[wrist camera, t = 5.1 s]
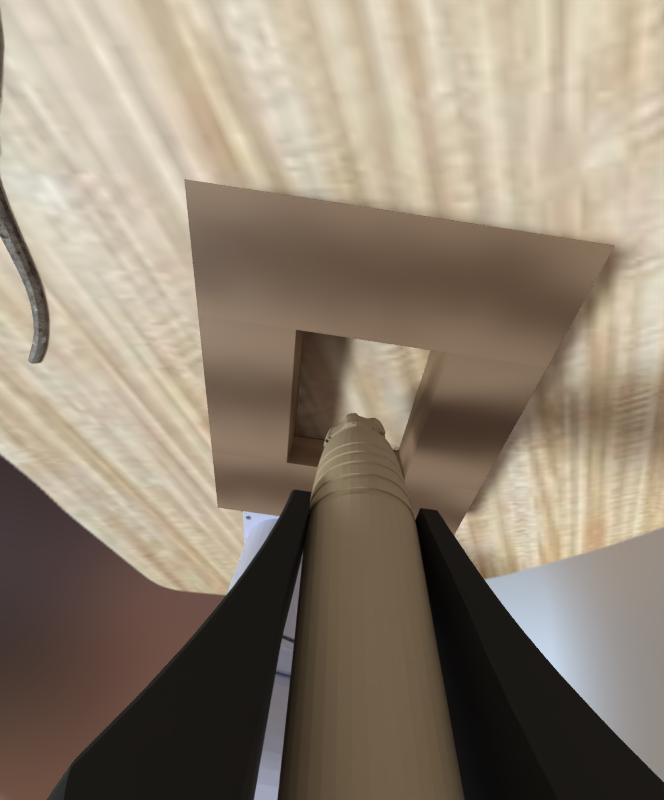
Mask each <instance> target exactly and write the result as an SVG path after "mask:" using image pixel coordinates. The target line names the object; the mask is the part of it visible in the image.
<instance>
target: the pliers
mask: <svg viewBox="0 0 664 800" xmlns="http://www.w3.org/2000/svg"><path fill="white" fill-rule="evenodd" d="M0 237H1V239H2V241H3V242H4V244H5V246H6V248H7V250H8V252H9V254H10V256H11V258H12V260H13V262H14V264H15V266H16V268H17V270H18V272H19V274H20V276H21V278H22V281H23V283H24V285H25V288H26V291H27V294H28V297H29V300H30V303H31V309H32V314H33V324H34V336H33V344H32V347H31V351H30V355H29V362H30V363H39V362H40V360H41V358H42V356H43V353H44V350H45V346H46V339H47V316H46V306H45V302H44V298H43V293H42V289H41V286H40V284H39V281H38V278H37V275H36V273H35V270H34V268H33V265H32V263H31V261H30V258H29V256H28V254H27V252H26V249H25V247H24V245H23V242H22V240H21V238H20V235H19V233H18V231H17V229H16V226H15V224H14V222H13V219H12V217H11V215H10V212H9V210H8V207H7V205H6V202H5V200H4V197H3V194H2V191H1V188H0Z"/></svg>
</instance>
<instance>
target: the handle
mask: <svg viewBox="0 0 664 800" xmlns="http://www.w3.org/2000/svg"><path fill="white" fill-rule="evenodd" d="M277 800H465V798H464V793H463V787H462V782H461V776H460V771H459V765H458V759H457V754H456V748H455V743H454V737H453V732H452V726H451V721H450V715H449V709H448V704H447V698H446V693H445V687H444V682H443V676H442V671H441V665H440V659H439V654H438V648H437V643H436V637H435V631H434V625H433V619H432V613H431V607H430V602H429V596H428V590H427V584H426V578H425V572H424V567H423V561H422V555H421V549H420V543H419V537H418V532H417V527H416V523H415V518H414V514H413V510H412V506H411V502H410V498H409V494H408V491H407V487H406V484H405V481H404V478H403V475H402V472H401V469H400V466H399V463H398V461H397V458H396V456H395V454H394V452H393V450H392V448H391V446H390V444H389V443H388V441H387V440H386V439H385V431H384V428H383V426H382V424H381V422H380V421H379V420H377V419H376V418H363V417H360V416H358V415H357V414H356V413H351V414H348V415H347V416H346V418H345V419H344V421H343V422H341V423H340V424H339V425H337V426H333V427H331V428H330V429H329V431H328V433H327V435H326V438H325V441H324V451H323V453H322V456H321V458H320V461H319V465H318V468H317V472H316V477H315V481H314V485H313V489H312V494H311V500H310V507H309V513H308V520H307V525H306V531H305V538H304V547H303V557H302V567H301V577H300V587H299V597H298V607H297V618H296V628H295V638H294V648H293V657H292V666H291V676H290V685H289V695H288V704H287V713H286V723H285V732H284V742H283V751H282V761H281V770H280V779H279V789H278V798H277Z"/></svg>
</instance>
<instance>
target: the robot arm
mask: <svg viewBox="0 0 664 800" xmlns="http://www.w3.org/2000/svg"><path fill="white" fill-rule="evenodd" d="M310 499H311V492H309V491H302V490H293V491H291V493H290V496H289V498H288V501H287V503H286V505H285V507H284V509H283V511H282V513H281V515H280V516H273V515H267V514H260V513H253V512H246V511H244V512H243V520H244V548H243V550H242V553H241V556H240V559H239V562H238V564H237V567H236V570H235V573H234V575H233V578H232V581H231V584H230V586H229V589H228V592H227V595H226V596H225V598H224V599H223V600H222V601H221V603H220V604H219V605H218V606H217V608H216V609H215V610H214V611H213V612H212V614H211V615H210V616H209V617H208V618H207V620H206V621H205V622H204V623H203V624H202V626H201V627H200V628H199V629H198V630H197V632H196V633H195V634H194V635H193V636H192V637H191V639H190V640H189V641H188V642H187V643H186V644H185V645H184V646H183V648H182V649H181V650H180V651H179V652H178V653H177V654H176V655H175V656H174V657H173V659H172V660H171V661H170V662H169V663H168V664H167V665H166V666H165V667H164V668H163V670H161V672H160V673H159V674H158V675H157V676H156V677H155V678H154V679H153V680H152V681H151V682H150V683H149V685H148V686H147V687H146V688H145V689H144V690H143V691H142V692H141V693H140V694H139V695H138V696H137V697H136V698H135V699H134V700H133V701H132V702H131V703H130V704H129V705H128V706H127V707H126V709H125V710H123V711H122V713H120V714H119V716H117V717H116V718H115V720H113V721H112V723H111V724H109V726H107V728H106V729H105V730H104V731H103V732H102V733H101V734H100V735H99V736H98V737H97V738H96V739H95V740H94V741H93V742H92V743H91V744H90V745H89V746H88V747H87V748H86V749H85V750H84V751H83V752H82V753H81V754H80V755H79V756H78V757H77V758H76V759H75V760H74V762H73V763H72V764H71V766H70V767H69V768H68V770H67V771H66V772H65V774H64V775H63V777H62V778H61V780H60V781H59V782H58V784H57V785H56V787H55V788H54V790H53V791H52V793H51V794H50V796H49V797H48V799H47V800H277V798H278V789H279V779H280V770H281V761H282V751H283V742H284V732H285V723H286V713H287V704H288V695H289V685H290V676H291V666H292V657H293V648H294V638H295V628H296V618H297V607H298V597H299V587H300V577H301V567H302V557H303V547H304V538H305V531H306V525H307V520H308V513H309V507H310ZM415 523H416V527H417V532H418V537H419V543H420V549H421V555H422V561H423V567H424V572H425V578H426V584H427V590H428V596H429V602H430V607H431V613H432V619H433V625H434V631H435V637H436V643H437V648H438V654H439V659H440V665H441V671H442V676H443V682H444V687H445V693H446V698H447V704H448V709H449V715H450V721H451V726H452V732H453V737H454V743H455V748H456V754H457V759H458V765H459V771H460V776H461V782H462V787H463V793H464V798H465V800H664V782H663V781H662V780H661V779H660V778H659V777H658V776H657V775H656V774H655V773H654V772H653V771H652V770H651V769H649V768H648V766H647V765H646V764H645V763H644V762H643V761H642V760H641V759H640V758H639V757H638V756H637V755H636V754H635V753H634V752H633V751H632V750H631V749H630V748H629V747H628V746H627V745H626V744H625V743H624V742H623V741H622V740H621V739H620V738H619V737H618V736H617V735H616V734H615V733H614V732H613V731H612V730H611V729H610V728H609V727H608V725H607V724H606V723H605V722H604V721H603V720H602V719H601V718H600V717H599V716H598V715H597V714H596V713H595V712H594V711H593V710H592V708H591V707H590V706H589V705H588V704H587V703H586V702H585V701H584V700H583V699H582V698H581V697H580V696H579V694H578V693H577V692H576V691H575V690H574V689H573V688H572V687H571V686H570V685H569V684H568V683H567V681H566V680H565V679H564V678H563V677H562V676H561V675H560V674H559V672H558V671H557V670H556V669H555V668H554V667H553V666H552V665H551V663H550V662H549V661H548V660H547V659H546V658H545V657H544V655H543V654H542V653H541V652H540V651H539V649H538V648H537V647H536V646H535V645H534V643H533V642H532V641H531V640H530V639H529V637H528V636H527V635H526V634H525V633H524V631H523V630H522V629H521V628H520V626H519V625H518V624H517V623H516V621H515V620H514V619H513V618H512V616H511V615H510V614H509V612H508V611H507V610H506V609H505V607H504V606H503V605H502V603H501V602H500V601H499V599H498V598H497V597H496V595H495V594H494V593H493V591H492V590H491V589H490V587H489V586H488V584H487V583H486V582H485V580H484V579H483V577H482V576H481V575H480V573H479V572H478V570H477V569H476V567H475V566H474V565H473V563H472V562H471V560H470V559H469V557H468V556H467V554H466V553H465V551H464V550H463V548H462V547H461V545H460V544H459V542H458V541H457V539H456V538H455V536H454V535H453V533H452V532H451V530H450V529H449V527H448V526H447V524H446V522H445V521H444V519H443V518H442V516H441V515H440V513H439V512H438V510H432V509H425V508H420V510H419V512H418V515H417V517H416V519H415Z"/></svg>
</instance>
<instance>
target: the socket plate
mask: <svg viewBox="0 0 664 800" xmlns="http://www.w3.org/2000/svg"><path fill="white" fill-rule="evenodd" d="M185 189H186V199H187V209H188V218H189V228H190V238H191V248H192V258H193V267H194V277H195V287H196V297H197V307H198V316H199V326H200V336H201V346H202V356H203V365H204V375H205V385H206V395H207V404H208V414H209V424H210V434H211V444H212V453H213V463H214V473H215V483H216V493H217V502H218V508H225V509H232V510H239V511H246V512H253V513H260V514H267V515H273V516H280V515H281V513H282V511H283V509H284V507H285V505H286V503H287V501H288V498H289V496H290V493H291V491H293V490H302V491H309V492H311V494H312V489H313V485H314V481H315V477H316V472H317V468H318V465H319V461H320V458H321V456H322V453H323V451H324V441H325V440H319V439H312V438H305V437H299V436H295V428H296V416H297V404H298V392H299V380H300V368H301V356H302V344H303V332H304V331H308V332H315V333H321V334H328V335H335V336H341V337H348V338H355V339H361V340H368V341H375V342H381V343H388V344H394V345H401V346H408V347H414V348H421V349H428V350H431V352H430V355H429V358H428V361H427V364H426V368H425V371H424V374H423V377H422V380H421V383H420V386H419V389H418V392H417V395H416V399H415V402H414V405H413V408H412V411H411V414H410V417H409V420H408V423H407V426H406V430H405V433H404V436H403V439H402V442H401V445H400V448H399V451H394V450H393V452H394V454H395V456H396V458H397V461H398V463H399V466H400V469H401V472H402V475H403V478H404V481H405V484H406V487H407V491H408V494H409V498H410V502H411V506H412V510H413V514H414V518H415V519H416V517H417V515H418V512H419V510H420V508H425V509H432V510H438V512H439V513H440V515H441V516H442V518H443V519H444V521H445V522H446V524H447V526H448V527H449V529H450V530H451V532H452V533H453V535H454V534H455V532H456V531H457V529H458V527H459V525H460V523H461V522H462V520H463V518H464V516H465V514H466V513H467V511H468V509H469V507H470V505H471V504H472V502H473V500H474V498H475V496H476V495H477V493H478V491H479V489H480V487H481V486H482V484H483V482H484V480H485V478H486V477H487V475H488V473H489V471H490V469H491V468H492V466H493V464H494V462H495V460H496V459H497V457H498V455H499V453H500V451H501V450H502V448H503V446H504V444H505V442H506V441H507V439H508V437H509V435H510V433H511V432H512V430H513V428H514V426H515V424H516V423H517V421H518V419H519V417H520V415H521V414H522V412H523V410H524V408H525V406H526V405H527V403H528V401H529V399H530V397H531V396H532V394H533V392H534V390H535V388H536V387H537V385H538V383H539V381H540V379H541V378H542V376H543V374H544V372H545V370H546V369H547V367H548V365H549V363H550V361H551V360H552V358H553V356H554V354H555V352H556V351H557V349H558V347H559V345H560V343H561V342H562V340H563V338H564V336H565V334H566V333H567V331H568V329H569V327H570V325H571V324H572V322H573V320H574V318H575V316H576V315H577V313H578V311H579V309H580V307H581V306H582V304H583V302H584V300H585V298H586V297H587V295H588V293H589V291H590V289H591V288H592V286H593V284H594V282H595V280H596V279H597V277H598V275H599V273H600V271H601V270H602V268H603V266H604V264H605V262H606V261H607V259H608V257H609V255H610V253H611V252H612V250H613V248H614V245H608V244H601V243H595V242H588V241H582V240H575V239H569V238H562V237H556V236H549V235H543V234H536V233H530V232H523V231H517V230H510V229H504V228H497V227H491V226H484V225H478V224H471V223H465V222H458V221H452V220H445V219H439V218H432V217H426V216H419V215H413V214H406V213H400V212H393V211H387V210H380V209H374V208H367V207H361V206H354V205H348V204H342V203H335V202H329V201H322V200H316V199H309V198H303V197H296V196H290V195H283V194H277V193H270V192H264V191H257V190H251V189H244V188H238V187H231V186H225V185H218V184H212V183H205V182H199V181H192V180H186V179H185ZM310 500H311V499H310Z"/></svg>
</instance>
